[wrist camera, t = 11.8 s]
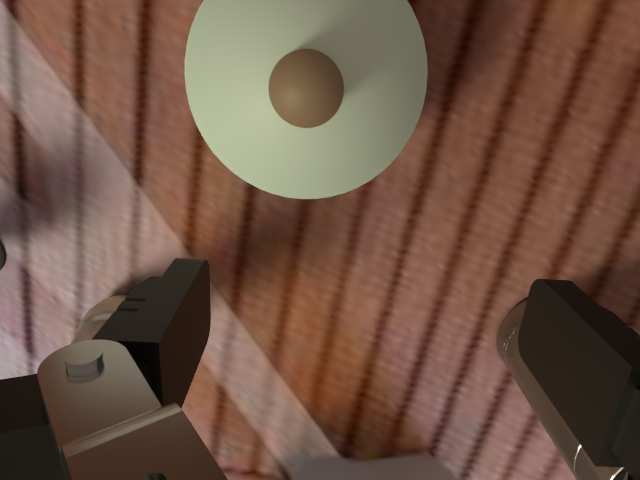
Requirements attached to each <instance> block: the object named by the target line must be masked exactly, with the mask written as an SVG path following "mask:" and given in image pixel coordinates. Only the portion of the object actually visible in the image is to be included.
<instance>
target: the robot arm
mask: <svg viewBox="0 0 640 480" xmlns="http://www.w3.org/2000/svg"><path fill="white" fill-rule="evenodd" d="M210 321H211V313H210V278H209V264H208V261H207V260H197V259H178V258H176V259H175V260H174V261H173V262H172V264H171V265H170V266H169V268H168V269H167V270H166V272H165V273H164V275H163V276H162V277H150V278H148V279H147V280H145V281H143V282H141V283H140V284H138V285H136V286H134V288H133V289H132V290H131V291H130V293H129V294H128V295H127V296H126V297H125V301H122V302H121V304H120V305H119V306H118V307H117V311H114V312H113V314H112V315H111V316H110V317H109V319H108V320H107V321H106V322H105V323H104V325H103V326H102V327H101V328H100V330H99V331H98V332H97V333H96V335H95V336H94V337H93V338H92V340H87V341H81V342H77V343H74V344H71V345H68V346H65V347H63V348H61V349H59V350H57V351H55V352H54V353H52V354H51V355H49V356H48V357H47V358H46V359H45V360H44V361H43V362H42V363H41V364H40V366H39V368H38V371H37V374H33V375H28V376H22V377H15V378H8V379H2V380H0V480H228V479H227V478H226V476H225V475H224V473H223V472H222V470H221V469H220V467H219V466H218V464H217V462H216V461H215V459H214V458H213V456H212V455H211V453H210V452H209V450H208V449H207V447H206V446H205V444H204V443H203V441H202V440H201V438H200V437H199V435H198V434H197V432H196V430H195V429H194V427H193V426H192V424H191V423H190V421H189V420H188V418H187V417H186V415H185V414H184V412H183V411H182V409H181V408H182V405H183V403H184V400H185V398H186V395H187V393H188V390H189V387H190V385H191V382H192V380H193V377H194V375H195V372H196V370H197V367H198V364H199V362H200V359H201V357H202V354H203V352H204V349H205V347H206V344H207V341H208V337H209V332H210ZM497 349H498V352H499V354H500V356H501V358H502V360H503V361H504V363H505V365H506V366H507V368H508V369H509V371H510V373H511V374H512V376H513V378H514V379H515V381H516V383H517V384H518V386H519V388H520V389H521V391H522V392H523V394H524V396H525V397H526V399H527V400H528V402H529V404H530V405H531V407H532V409H533V410H534V412H535V413H536V415H537V417H538V418H539V420H540V421H541V423H542V425H543V426H544V428H545V429H546V431H547V433H548V434H549V436H550V438H551V439H552V441H553V442H554V444H555V446H556V447H557V449H558V450H559V452H560V454H561V455H562V457H563V459H564V460H565V462H566V463H567V465H568V467H569V468H570V470H571V471H572V473H573V475H574V476H575V478H576V480H640V335H638V334H637V333H636V332H635V331H634V330H633V329H631V328H628V325H627V324H626V323H624V322H623V321H622V320H621V319H620V318H619V317H617V316H616V315H615V314H614V313H613V312H611V311H609V310H607V309H605V308H603V307H602V306H600V305H598V304H597V303H596V302H594V301H593V300H592V299H591V298H590V297H589V296H587V295H586V294H585V293H584V292H583V291H582V290H581V289H579V288H578V287H577V286H576V285H575V284H574V283H573V282H571V281H567V280H549V279H537V280H535V281H534V282H533V284H532V285H531V288H530V291H529V295H528V299H527V300H525V301H523V302H522V303H520V304H519V305H517V306H516V307H515V308H513V309H512V310H511V311H510V313H509V314H508V315H507V316H506V317H505V319H504V320H503V322H502V323H501V325H500V328H499V330H498V333H497Z"/></svg>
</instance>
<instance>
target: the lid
mask: <svg viewBox="0 0 640 480" xmlns="http://www.w3.org/2000/svg"><path fill="white" fill-rule="evenodd" d="M427 76H428V70H427V55H426V49H425V43H424V39H423V35H422V32H421V29H420V25H419V23H418V20H417V18H416V16H415V14H414V12H413V9H412V7H411V6H410V4H409V3H408V1H407V0H204V1H203V2H202V4H201V6H200V8H199V9H198V12H197V14H196V16H195V19H194V21H193V24H192V26H191V30H190V34H189V37H188V41H187V47H186V55H185V83H186V92H187V97H188V101H189V105H190V109H191V112H192V114H193V117H194V120H195V122H196V125H197V127H198V129H199V131H200V133H201V134H202V136H203V138H204V140H205V141H206V143H207V144H208V146H209V147H210V149H211V150H212V152H213V153H214V154H215V155H216V156H217V157H218V158H219V160H220V161H221V162H222V163H223V164H224V165H225V166H226V167H227V168H229V169H230V170H231V171H232V172H233V173H234V174H236V175H237V176H239V177H240V178H241V179H243V180H244V181H246V182H247V183H249V184H251V185H253V186H255V187H257V188H259V189H261V190H264V191H266V192H269V193H272V194H275V195H279V196H283V197H288V198H297V199H319V198H326V197H332V196H335V195H339V194H343V193H346V192H348V191H351V190H353V189H356V188H358V187H360V186H361V185H363V184H365V183H367V182H369V181H370V180H372V179H373V178H374V177H376V176H377V175H378V174H380V173H381V172H382V171H383V170H385V169H386V168H387V167H388V166H389V165H390V164H391V163H392V162H393V161H394V160H395V158H396V157H397V156H398V155H399V154H400V152H401V151H402V150H403V148H404V147H405V145H406V144H407V142H408V141H409V139H410V137H411V136H412V134H413V131H414V129H415V127H416V125H417V123H418V121H419V118H420V115H421V112H422V109H423V105H424V100H425V95H426V89H427Z"/></svg>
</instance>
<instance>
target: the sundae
mask: <svg viewBox="0 0 640 480" xmlns="http://www.w3.org/2000/svg"><path fill="white" fill-rule="evenodd" d="M4 261H5V254H4V250H3V247H2V245H1V244H0V269H1V268H2V267H3V265H4Z"/></svg>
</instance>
